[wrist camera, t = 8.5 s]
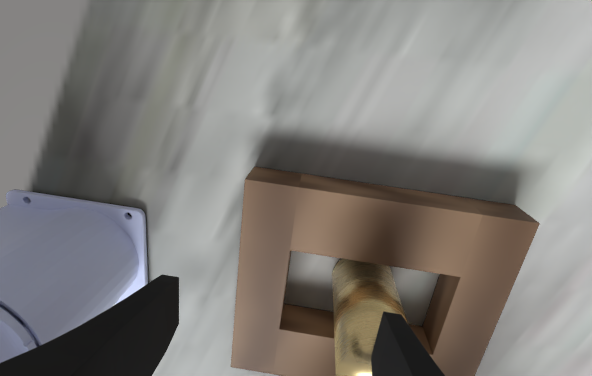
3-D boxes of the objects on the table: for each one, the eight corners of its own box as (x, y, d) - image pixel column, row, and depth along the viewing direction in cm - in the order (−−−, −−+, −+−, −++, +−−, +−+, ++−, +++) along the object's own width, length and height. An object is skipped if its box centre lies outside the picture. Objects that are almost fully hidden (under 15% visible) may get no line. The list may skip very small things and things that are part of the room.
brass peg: (330, 299, 24) (333, 406, 16) (334, 249, 22) (338, 341, 15) (387, 303, 23) (417, 414, 16) (395, 253, 22) (431, 349, 15)
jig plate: (239, 339, 26) (230, 366, 23) (254, 166, 21) (244, 179, 19) (448, 374, 25) (461, 406, 23) (515, 205, 20) (539, 223, 18)
